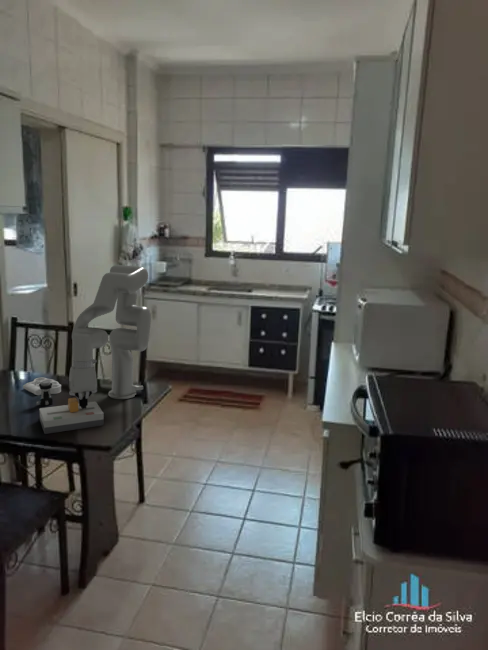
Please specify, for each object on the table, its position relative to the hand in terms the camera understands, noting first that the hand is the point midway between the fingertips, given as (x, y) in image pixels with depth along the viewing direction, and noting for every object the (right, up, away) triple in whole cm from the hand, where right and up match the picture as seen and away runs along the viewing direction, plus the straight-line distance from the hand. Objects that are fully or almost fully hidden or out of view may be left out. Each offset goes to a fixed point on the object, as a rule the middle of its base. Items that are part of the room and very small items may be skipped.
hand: (83, 407), depth 201 cm
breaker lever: (-4, -3, -1) cm, 5 cm away
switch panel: (-5, -6, 0) cm, 8 cm away
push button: (-22, -2, +16) cm, 27 cm away
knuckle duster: (-29, +2, +35) cm, 46 cm away
